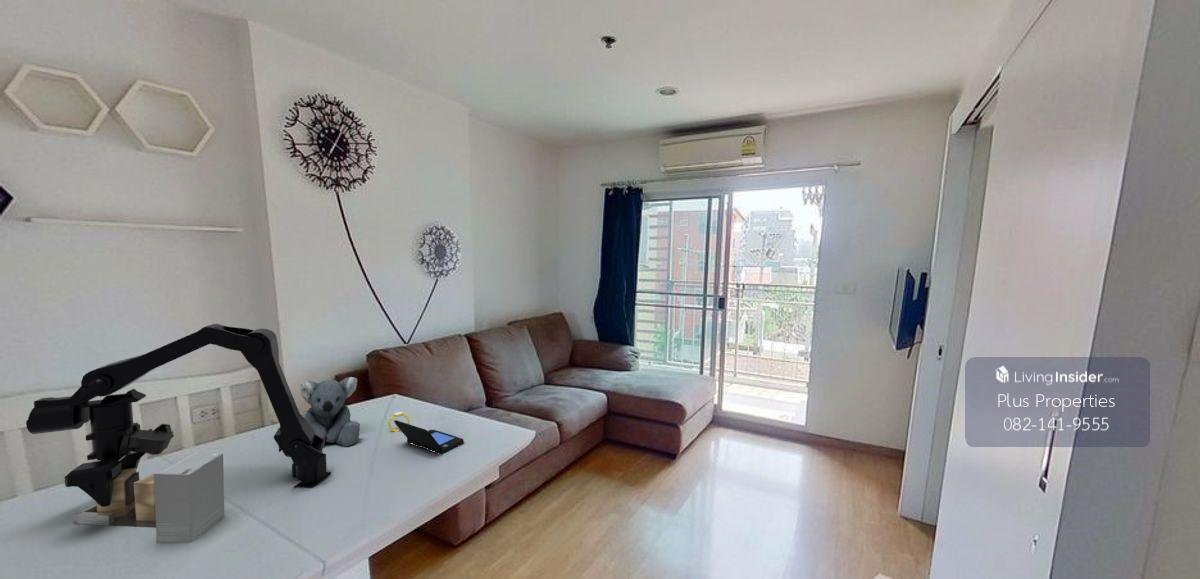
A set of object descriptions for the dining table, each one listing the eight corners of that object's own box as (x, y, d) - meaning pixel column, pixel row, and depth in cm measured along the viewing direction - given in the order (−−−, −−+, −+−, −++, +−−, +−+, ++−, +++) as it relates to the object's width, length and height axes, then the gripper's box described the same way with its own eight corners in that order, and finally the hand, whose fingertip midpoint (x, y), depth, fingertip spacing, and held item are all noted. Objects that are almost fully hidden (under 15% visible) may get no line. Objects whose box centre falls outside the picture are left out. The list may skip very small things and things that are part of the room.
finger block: (142, 502, 90) (139, 467, 90) (129, 514, 86) (127, 478, 85) (112, 507, 88) (109, 472, 88) (97, 520, 84) (95, 483, 83)
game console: (465, 443, 125) (465, 415, 125) (427, 462, 113) (426, 430, 113) (432, 432, 133) (432, 405, 132) (393, 449, 121) (392, 419, 121)
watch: (389, 434, 131) (387, 416, 131) (389, 431, 134) (387, 413, 133) (409, 430, 134) (407, 412, 133) (409, 427, 136) (408, 409, 135)
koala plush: (288, 458, 114) (285, 389, 113) (298, 434, 130) (296, 373, 128) (360, 445, 123) (358, 381, 121) (361, 424, 138) (359, 367, 137)
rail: (203, 508, 91) (202, 493, 91) (159, 534, 82) (158, 518, 82) (124, 505, 92) (123, 490, 91) (72, 531, 83) (71, 514, 83)
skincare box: (193, 524, 86) (189, 451, 84) (229, 523, 86) (226, 450, 85) (152, 553, 77) (147, 472, 76) (193, 551, 78) (189, 471, 77)
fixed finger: (180, 506, 89) (178, 471, 88) (154, 521, 84) (152, 483, 83) (160, 505, 89) (158, 470, 89) (133, 520, 84) (130, 482, 84)
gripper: (143, 433, 81) (148, 509, 82) (183, 404, 98) (187, 467, 99) (59, 445, 76) (66, 525, 77) (116, 411, 92) (121, 478, 93)
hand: (117, 495), depth 87 cm, fingers open, 8 cm apart
